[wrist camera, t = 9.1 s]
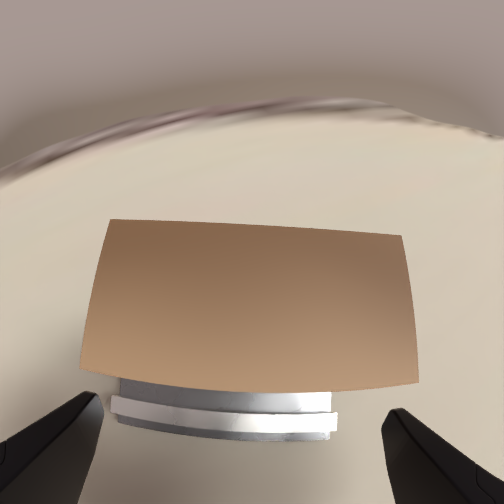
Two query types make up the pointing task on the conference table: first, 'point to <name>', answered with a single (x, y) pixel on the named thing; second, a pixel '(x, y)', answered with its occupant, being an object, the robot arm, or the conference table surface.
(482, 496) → the robot arm
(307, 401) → the door track
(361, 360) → the upright wooden block
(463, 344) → the conference table surface
